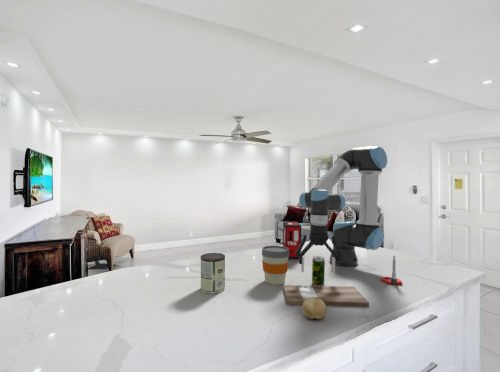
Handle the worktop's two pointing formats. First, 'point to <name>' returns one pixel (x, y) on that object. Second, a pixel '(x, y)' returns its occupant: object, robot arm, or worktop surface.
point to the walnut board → (325, 295)
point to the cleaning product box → (291, 238)
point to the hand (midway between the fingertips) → (317, 272)
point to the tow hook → (393, 278)
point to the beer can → (318, 270)
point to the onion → (314, 307)
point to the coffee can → (212, 273)
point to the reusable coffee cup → (275, 264)
